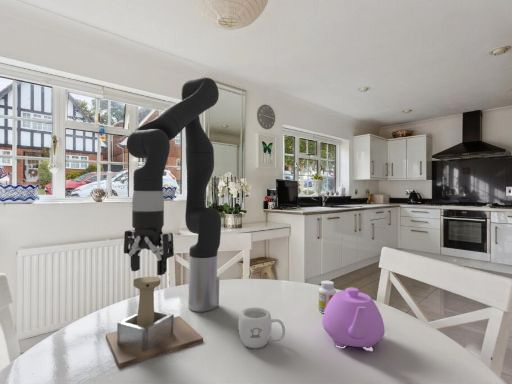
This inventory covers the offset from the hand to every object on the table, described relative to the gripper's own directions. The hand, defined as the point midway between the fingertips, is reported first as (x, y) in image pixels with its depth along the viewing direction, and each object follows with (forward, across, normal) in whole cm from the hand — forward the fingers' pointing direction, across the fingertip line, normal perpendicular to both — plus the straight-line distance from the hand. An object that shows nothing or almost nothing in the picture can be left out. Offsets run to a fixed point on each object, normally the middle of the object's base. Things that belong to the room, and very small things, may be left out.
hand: (148, 272), depth 75 cm
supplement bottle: (+19, -38, -40) cm, 58 cm away
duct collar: (+18, 0, 0) cm, 18 cm away
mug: (+18, -26, -12) cm, 34 cm away
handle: (+17, 0, +1) cm, 17 cm away
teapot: (+19, -48, -22) cm, 56 cm away
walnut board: (+18, -1, -1) cm, 18 cm away
